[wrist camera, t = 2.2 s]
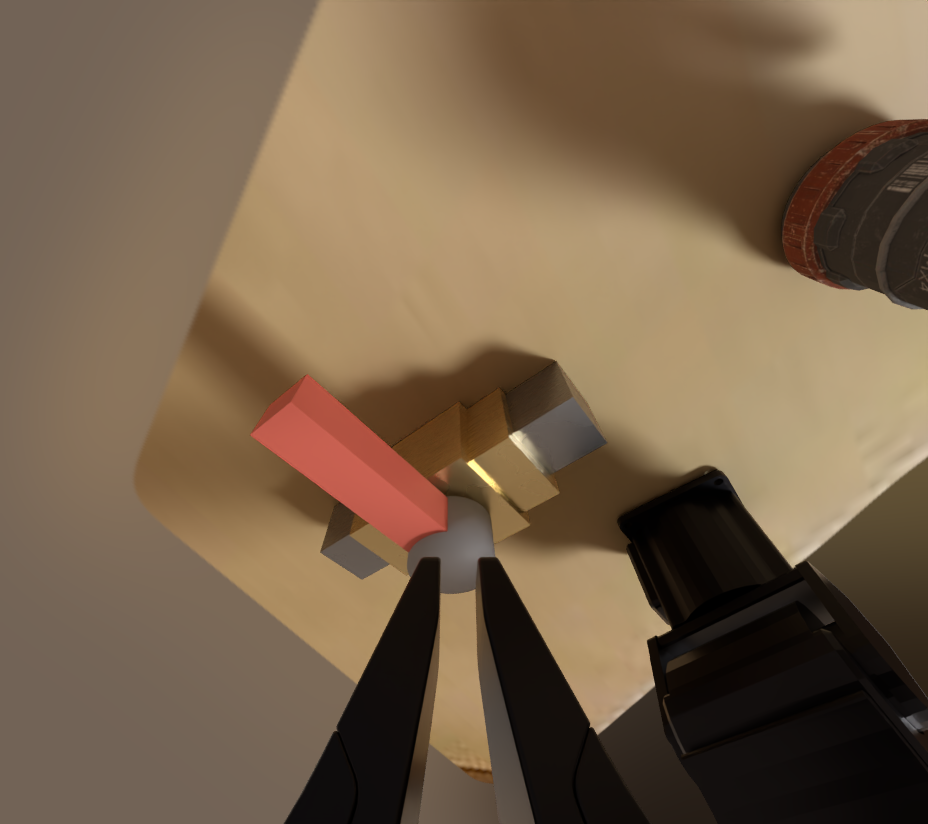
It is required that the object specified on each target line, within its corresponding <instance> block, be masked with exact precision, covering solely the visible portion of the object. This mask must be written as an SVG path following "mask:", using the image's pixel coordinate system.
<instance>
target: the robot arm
mask: <svg viewBox="0 0 928 824" xmlns="http://www.w3.org/2000/svg"><path fill="white" fill-rule="evenodd" d="M617 523H618V525H619V527H620V529H621V531H622V532H623V533H624V534H625V535H626V536H627V538H628V539H629V540H630V541H631V543H629V544H627V548H626V550H627V552H628V555H629V557H630V560H631V562H632V564H633V567H634V569H635V571H636V574H637V576H638V579H639V581H640V583H641V586H642V588H643V590H644V593H645V595H646V598H647V600H648V602H649V605H650V606H651V608H652V609H653V610H654V611H655V612H656V613H657V614H658V615H659V616H660V617H661V618H662V619H663V620H664V621H665V622H666V623H667V624H668V625H670V626H671V628H672V630H671V631H669V632H667V633H665V634H663V635H661V636H659V637H658V636H654V637H652V638H650V639H648V640H647V644H648V649H649V654H650V661H651V666H652V671H653V676H654V681H655V686H656V692H657V696H658V701H659V707H660V711H661V717H662V722H663V727H664V732H665V735H666V737H667V739H668V741H669V742H670V744H671V746H672V748H673V750H674V751H675V753H676V755H677V757H678V758H679V760H680V762H681V764H682V765H683V767H684V768H685V770H686V771H687V773H688V774H689V776H690V777H691V778H692V779H693V780H694V782H695V783H696V784H697V786H698V787H699V789H700V790H701V792H702V794H703V796H704V798H705V800H706V802H707V803H708V805H709V807H710V809H711V811H712V812H713V815H714V817H715V819H716V821H717V823H718V824H928V698H927V697H926V695H925V694H924V693H923V691H922V690H921V688H920V687H919V686H918V684H917V683H916V682H915V680H914V679H913V678H912V676H911V675H910V673H909V672H908V671H907V669H906V668H905V666H904V665H903V664H902V662H901V661H900V659H899V658H898V657H897V655H896V654H895V652H894V651H893V650H892V648H891V647H890V646H889V644H888V643H887V642H886V641H885V640H884V638H883V637H882V636H881V635H880V634H879V633H878V631H877V630H876V629H875V628H874V627H873V626H872V625H871V624H870V623H869V621H867V619H866V618H865V617H864V616H863V614H862V613H861V612H860V611H859V610H858V609H857V608H856V607H855V606H854V604H853V603H852V602H851V601H850V600H849V599H848V598H847V597H846V596H845V595H844V594H843V593H842V592H841V591H840V590H839V589H838V588H837V587H836V586H834V585H833V584H832V583H831V582H830V581H829V580H828V579H827V578H826V577H824V576H823V575H822V574H821V573H820V572H819V571H818V570H817V569H816V568H815V567H814V566H813V565H811V564H810V563H809V562H808V561H807V560H805V561H803V562H801V563H799V564H797V565H795V566H796V568H794V569H793V568H792V567H791V566H790V564H789V563H788V562H787V561H786V559H785V558H784V557H783V556H782V554H781V553H780V552H779V550H778V549H777V548H776V547H775V545H774V544H773V543H772V541H771V540H770V539H769V538H768V536H767V535H766V534H765V533H764V531H763V530H762V529H761V527H760V526H759V525H758V524H757V522H756V521H755V520H754V518H753V517H752V516H751V515H750V513H749V512H748V511H747V510H746V508H745V507H744V505H743V504H742V502H741V500H740V498H739V497H738V495H737V493H736V492H735V490H734V488H733V486H732V485H731V483H730V481H729V479H728V478H727V476H726V475H725V474H724V473H723V472H722V471H719V470H718V471H713V472H711V473H708V474H706V475H704V476H702V477H700V478H698V479H696V480H694V481H692V482H690V483H688V484H686V485H684V486H682V487H680V488H678V489H676V490H674V491H672V492H670V493H668V494H666V495H664V496H662V497H659V498H657V499H655V500H653V501H651V502H649V503H647V504H645V505H643V506H641V507H639V508H637V509H635V510H633V511H631V512H629V513H627V514H625V515H623V516H621V517H620V518H619V519H618V521H617ZM440 590H441V559H440V558H439V557H422V558H421V559H420V561H419V562H418V564H417V566H416V568H415V570H414V572H413V574H412V576H411V578H410V580H409V582H408V584H407V586H406V588H405V590H404V592H403V594H402V596H401V598H400V600H399V602H398V604H397V606H396V608H395V610H394V612H393V614H392V616H391V618H390V620H389V622H388V624H387V626H386V628H385V630H384V632H383V634H382V636H381V638H380V640H379V642H378V644H377V646H376V648H375V650H374V652H373V654H372V656H371V658H370V660H369V662H368V664H367V666H366V668H365V670H364V672H363V674H362V676H361V678H360V680H359V682H358V684H357V686H356V688H355V690H354V692H353V694H352V696H351V698H350V701H349V702H348V704H347V706H346V708H345V710H344V712H343V714H342V716H341V718H340V721H339V722H338V724H337V726H336V729H337V731H334V732H333V734H332V736H331V738H330V740H329V742H328V744H327V746H326V748H325V750H324V752H323V754H322V756H321V758H320V759H319V761H318V763H317V765H316V768H315V769H314V771H313V773H312V774H311V776H310V778H309V780H308V782H307V784H306V786H305V788H304V789H303V791H302V793H301V795H300V797H299V798H298V800H297V802H296V804H295V805H294V807H293V809H292V810H291V812H290V814H289V815H288V817H287V819H286V821H285V822H284V824H418V823H419V814H420V807H421V800H422V792H423V785H424V777H425V769H426V762H427V753H428V746H429V739H430V731H431V724H432V716H433V708H434V701H435V693H436V685H437V677H438V668H439V639H440ZM833 621H835V622H833ZM831 622H832V623H831ZM828 623H831V624H828ZM476 624H477V657H478V671H479V680H480V687H481V694H482V702H483V709H484V716H485V723H486V731H487V738H488V745H489V753H490V760H491V767H492V774H493V782H494V788H495V796H496V803H497V811H498V818H499V824H651V823H650V821H649V819H648V818H647V816H646V815H645V813H644V812H643V810H642V809H641V807H640V806H639V804H638V802H637V801H636V799H635V798H634V796H633V795H632V793H631V792H630V790H629V789H628V787H627V785H626V784H625V782H624V780H623V779H622V777H621V775H620V774H619V772H618V770H617V769H616V767H615V765H614V763H613V762H612V760H611V758H610V757H609V755H608V753H607V752H606V750H605V748H604V746H603V745H602V743H601V741H600V739H599V737H598V736H597V734H596V732H595V730H594V729H593V728H592V727H590V722H589V720H588V718H587V716H586V715H585V713H584V711H583V709H582V707H581V706H580V704H579V702H578V700H577V698H576V697H575V695H574V693H573V691H572V690H571V688H570V686H569V684H568V682H567V681H566V679H565V677H564V675H563V673H562V672H561V670H560V668H559V666H558V664H557V663H556V661H555V659H554V657H553V656H552V654H551V652H550V650H549V648H548V647H547V645H546V643H545V641H544V639H543V638H542V636H541V634H540V632H539V631H538V629H537V627H536V625H535V623H534V622H533V620H532V618H531V616H530V614H529V613H528V611H527V609H526V607H525V605H524V604H523V602H522V600H521V598H520V597H519V595H518V593H517V591H516V589H515V588H514V586H513V584H512V582H511V580H510V579H509V577H508V575H507V573H506V572H505V570H504V568H503V566H502V564H501V563H500V561H499V560H498V559H497V558H496V557H480V558H479V559H478V562H477V573H476ZM826 624H828V625H826ZM825 625H826V626H825ZM589 727H590V728H589Z"/></svg>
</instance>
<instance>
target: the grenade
mask: <svg viewBox="0 0 928 824" xmlns="http://www.w3.org/2000/svg"><path fill="white" fill-rule="evenodd" d="M781 234H782V240H783V248H784V252H785V255H786V257H787V260H788V262H789V263H790V265H791V266H792V267H793V268H794V269H795V270H796V271H797V272H798V273H800V274H801V275H803V276H805V277H808V278H810V279H813V280H815V281H817V282H820V283H822V284H825V285H827V286H830V287H833V288H838V289H853V290H864V289H868V288H870V289H872V290H875V291H877V292H880V293H883V294H885V295H886V296H887V297H888V298H889V299H890V300H891V301H892V302H893V303H895V304H898V305H901V306H904V307H907V308H910V309H926V310H928V119H918V120H894V121H886V122H882V123H879V124H876V125H872V126H870V127H868V128H865V129H863V130H861V131H859V132H857V133H855V134H853V135H852V136H850V137H849V138H847V139H845V140H844V141H842V142H841V143H840V144H838V145H837V146H836V147H834V148H833V149H832V150H830V151H829V152H828V153H826V154H825V155H824V156H822V157H821V158H820V159H819V160H818V161H817V162H816V163H815V164H814V165H813V166H812V167H811V168H810V169H809V170H808V171H807V172H806V173H805V174H804V176H803V177H802V178H801V180H800V181H799V183H798V184H797V185H796V187H795V189H794V191H793V192H792V194H791V196H790V198H789V200H788V203H787V205H786V207H785V211H784V214H783V218H782V226H781Z"/></svg>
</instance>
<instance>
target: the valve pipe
mask: <svg viewBox="0 0 928 824" xmlns="http://www.w3.org/2000/svg"><path fill="white" fill-rule="evenodd" d="M606 443H607V441H606V439H605V437H604V435H603V433H602V431H601V429H600V427H599V425H598V423H597V421H596V419H595V417H594V415H593V413H592V411H591V409H590V407H589V405H588V403H587V402H586V401H585V399H584V398H583V397H582V395H581V394H580V392H579V391H578V390H577V388H576V387H575V386H574V384H573V383H572V382H571V380H570V379H569V377H568V376H567V375H566V373H565V372H564V371H563V369H562V368H561V367H560V365H559V364H558V362H557V361H556V362H554V363H553V364H551V365H550V366H548V367H547V368H545V369H544V370H542V371H541V372H539V373H538V374H536V375H535V376H533V377H531V378H530V379H528V380H527V381H525V382H524V383H522V384H521V385H519V386H518V387H516V388H515V389H513V390H512V391H510V392H509V393H507V394H506V395H505V393H504V392H503V391H502V390H501V389H500V388H498V389H497V390H495V391H494V392H492V393H491V394H489V395H488V396H486V397H485V398H483V399H482V400H480V401H479V402H477V403H476V404H474V405H473V406H471V407H470V408H468V409H466V408H465V407H464V406H463V405H462V404H461V403H460V402H458V403H456V404H455V405H453V406H452V407H450V408H449V409H447V410H446V411H445V412H443V413H442V414H440V415H439V416H437V417H436V418H434V419H433V420H431V421H430V422H428V423H427V424H425V425H424V426H422V427H421V428H419V429H418V430H416V431H415V432H414V433H412V434H411V435H409V436H408V437H406V438H405V439H403V440H402V441H400V442H399V443H397V444H396V445H394V446H393V447H391V448H392V449H393V450H394V451H395V452H396V453H397V454H399V455H400V456H401V457H402V458H403V459H404V460H405V461H406V462H408V463H409V464H410V465H411V466H412V467H413V468H414V469H416V470H417V471H418V472H419V473H420V474H421V475H422V476H423V477H425V478H426V479H427V480H428V481H429V482H430V483H431V484H433V485H434V486H435V487H436V488H437V489H438V490H439V491H440V492H442V493H443V494H444V495H445V496H459V497H464V498H468V499H471V500H474V501H476V502H477V503H479V504H481V505H482V506H483V507H484V508H485V509H486V510H487V511H488V513H489V515H490V517H491V522H492V531H493V541H494V544H496V543H497V542H499V541H501V540H503V539H505V538H507V537H509V536H511V535H513V534H515V533H517V532H519V531H520V530H522V529H524V528H526V527H528V526H530V520H529V515H528V510H530V509H531V508H533V507H535V506H537V505H539V504H541V503H543V502H545V501H546V500H548V499H550V498H552V497H554V496H556V495H558V494H559V493H560V492H559V489H558V485H557V482H556V479H555V476H554V472H556V471H558V470H560V469H562V468H563V467H565V466H567V465H569V464H570V463H572V462H574V461H576V460H578V459H579V458H581V457H583V456H585V455H587V454H588V453H590V452H592V451H594V450H596V449H597V448H599V447H601V446H603V445H605V444H606ZM320 553H322V554H323V555H325V556H326V557H328V558H330V559H331V560H333V561H334V562H336V563H337V564H339V565H340V566H342V567H343V568H345V569H346V570H348V571H350V572H351V573H353V574H354V575H356V576H357V577H359V578H360V579H364V578H366V577H368V576H370V575H371V574H373V573H375V572H377V571H379V570H380V569H382V568H384V567H386V566H388V565H389V564H390V565H392V566H393V567H395V568H396V569H398V570H399V571H400V572H402V573H403V574H405V575H406V576H407V575H408V574H409V573H408V570H407V559H408V552H407V551H406V550H404V549H403V548H402V547H400V546H399V545H398V544H396V543H395V542H393V541H392V540H391V539H389V538H388V537H387V536H385V535H384V534H383V533H381V532H380V531H379V530H377V529H376V528H375V527H373V526H372V525H371V524H369V523H368V522H367V521H365V520H364V519H362V518H361V517H360V516H358V515H357V514H356V513H354V512H353V511H352V510H350V509H349V508H348V507H346V506H345V505H344V504H342V503H339V504H338V505H336V506H335V507H334V509H333V512H332V516H331V519H330V522H329V525H328V529H327V532H326V535H325V538H324V541H323V545H322V548H321V551H320Z"/></svg>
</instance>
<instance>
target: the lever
mask: <svg viewBox="0 0 928 824" xmlns="http://www.w3.org/2000/svg"><path fill="white" fill-rule="evenodd" d="M250 435H251V436H252V437H253V438H255V439H256V440H257V441H259V442H260V443H261V444H263V445H264V446H265V447H267V448H268V449H269V450H271V451H272V452H274V453H275V454H276V455H278V456H279V457H280V458H282V459H283V460H284V461H286V462H287V463H288V464H290V465H291V466H292V467H294V468H295V469H296V470H298V471H299V472H300V473H302V474H303V475H305V476H306V477H307V478H309V479H310V480H311V481H313V482H314V483H315V484H317V485H318V486H319V487H321V488H322V489H323V490H325V491H326V492H327V493H329V494H330V495H331V496H333V497H334V498H336V499H337V500H338V501H340V502H341V503H342V504H344V505H345V506H346V507H348V508H349V509H350V510H352V511H353V512H354V513H356V514H357V515H358V516H360V517H361V518H362V519H364V520H365V521H367V522H368V523H369V524H371V525H372V526H373V527H375V528H376V529H377V530H379V531H380V532H381V533H383V534H384V535H385V536H387V537H388V538H389V539H391V540H392V541H393V542H395V543H396V544H398V545H399V546H400V547H402V548H403V549H404V550H406V551H407V552H408V559H407V570H408V573H409V576H410V577H411V576H412V574H413V572H414V570H415V568H416V566H417V564H418V562H419V561H420V559H421V558H422V557H439V558H440V559H441V590H440V593H445V594H456V593H464V592H468V591H471V590H474V589H476V573H477V562H478V559H479V558H480V557H495V550H494V541H493V531H492V522H491V517H490V515H489V513H488V511H487V510H486V509H485V508H484V507H483V506H482V505H481V504H479V503H477V502H476V501H474V500H471V499H468V498H464V497H459V496H445V495H444V494H443V493H442V492H440V491H439V490H438V489H437V488H436V487H435V486H434V485H433V484H431V483H430V482H429V481H428V480H427V479H426V478H425V477H423V476H422V475H421V474H420V473H419V472H418V471H417V470H416V469H414V468H413V467H412V466H411V465H410V464H409V463H408V462H406V461H405V460H404V459H403V458H402V457H401V456H400V455H399V454H397V453H396V452H395V451H394V450H393V449H392V448H391V447H389V446H388V445H387V444H386V443H385V442H384V441H383V440H382V439H380V438H379V437H378V436H377V435H376V434H375V433H374V432H372V431H371V430H370V429H369V428H368V427H367V426H366V425H365V424H363V423H362V422H361V421H360V420H359V419H358V418H357V417H355V416H354V415H353V414H352V413H351V412H350V411H349V410H348V409H346V408H345V407H344V406H343V405H342V404H341V403H340V402H339V401H337V400H336V399H335V398H334V397H333V396H332V395H331V394H329V393H328V392H327V391H326V390H325V389H324V388H323V387H322V386H320V385H319V384H318V383H317V382H316V381H315V380H314V379H312V378H311V377H310V376H309V375H308V374H307V375H305V376H304V377H303V378H302V379H301V380H299V381H298V382H297V383H296V384H295V385H293V386H292V387H291V388H290V389H289V390H287V391H286V392H285V393H284V394H282V395H281V396H280V397H279V398H278V399H276V400H275V401H274V402H273V403H272V404H270V405H269V407H268V408H267V410H266V412H265V413H264V415H263V416H262V418H261V419H260V421H259V422H258V424H257V425H256V427H255V428H254V430H253V431H252V433H251V434H250Z"/></svg>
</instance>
